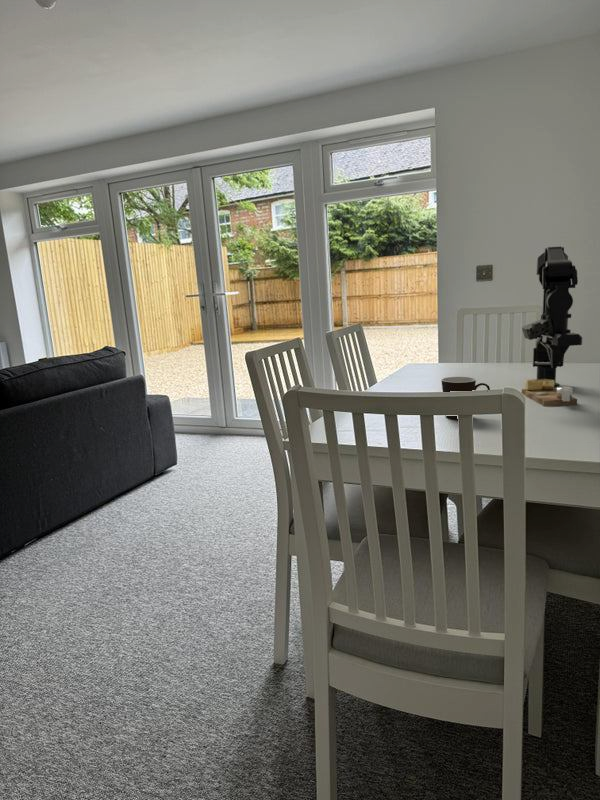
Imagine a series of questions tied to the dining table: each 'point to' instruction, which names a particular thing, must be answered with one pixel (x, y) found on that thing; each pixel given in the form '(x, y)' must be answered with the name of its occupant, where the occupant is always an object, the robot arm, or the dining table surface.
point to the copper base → (547, 397)
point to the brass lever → (539, 384)
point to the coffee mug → (459, 386)
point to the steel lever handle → (564, 393)
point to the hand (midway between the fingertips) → (554, 368)
